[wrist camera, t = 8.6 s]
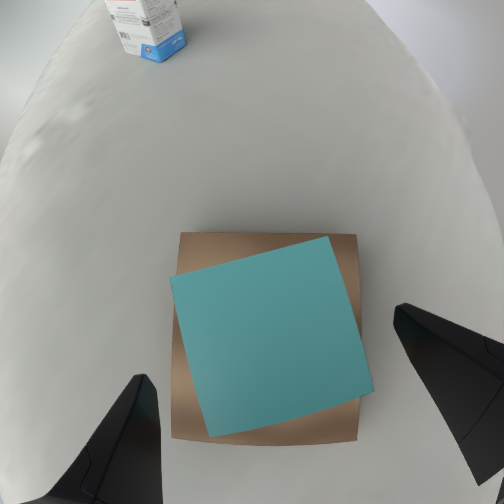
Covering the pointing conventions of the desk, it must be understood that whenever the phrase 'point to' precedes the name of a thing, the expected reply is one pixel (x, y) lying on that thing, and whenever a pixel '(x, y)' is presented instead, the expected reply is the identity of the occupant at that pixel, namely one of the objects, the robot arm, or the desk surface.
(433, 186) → the desk surface
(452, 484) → the desk surface
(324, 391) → the teal tall block
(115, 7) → the ink box
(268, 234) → the walnut stand
